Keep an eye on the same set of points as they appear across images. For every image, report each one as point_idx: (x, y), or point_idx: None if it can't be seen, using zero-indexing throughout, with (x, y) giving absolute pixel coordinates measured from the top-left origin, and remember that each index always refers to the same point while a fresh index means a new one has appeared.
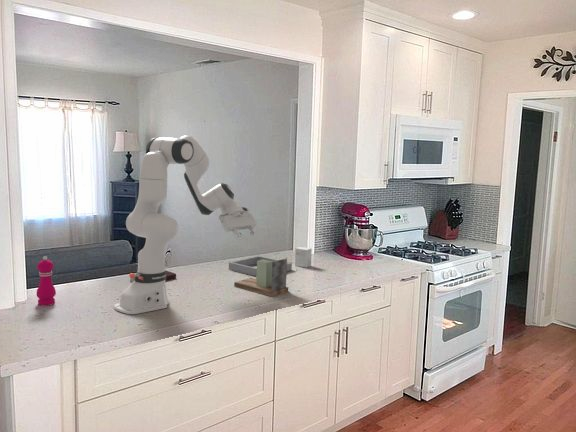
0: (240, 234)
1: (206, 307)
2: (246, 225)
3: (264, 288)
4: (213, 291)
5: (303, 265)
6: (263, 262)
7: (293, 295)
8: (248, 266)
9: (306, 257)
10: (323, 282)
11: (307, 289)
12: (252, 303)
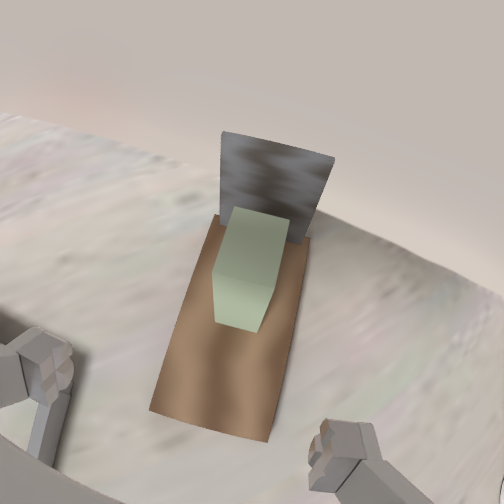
0: (351, 430)
1: (492, 356)
2: (29, 456)
3: (281, 282)
4: None
5: None
6: (284, 240)
7: None
8: None
9: None
10: (67, 173)
11: (161, 183)
12: (400, 269)
